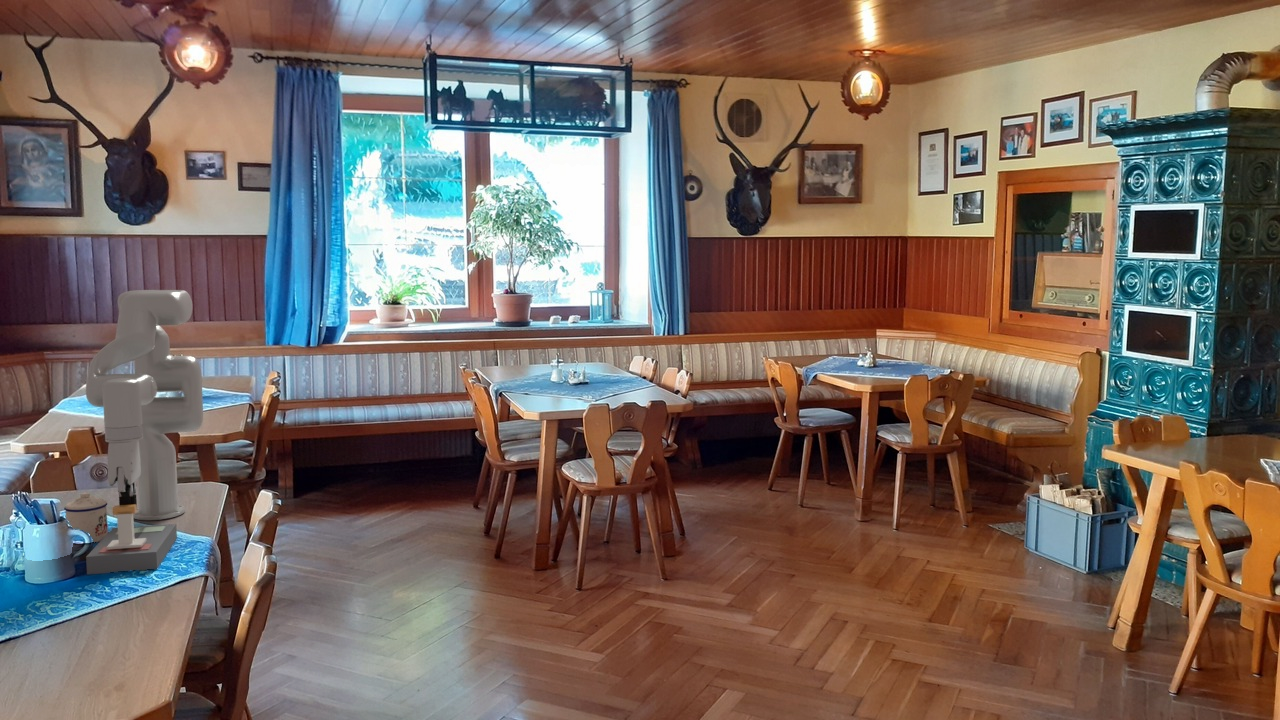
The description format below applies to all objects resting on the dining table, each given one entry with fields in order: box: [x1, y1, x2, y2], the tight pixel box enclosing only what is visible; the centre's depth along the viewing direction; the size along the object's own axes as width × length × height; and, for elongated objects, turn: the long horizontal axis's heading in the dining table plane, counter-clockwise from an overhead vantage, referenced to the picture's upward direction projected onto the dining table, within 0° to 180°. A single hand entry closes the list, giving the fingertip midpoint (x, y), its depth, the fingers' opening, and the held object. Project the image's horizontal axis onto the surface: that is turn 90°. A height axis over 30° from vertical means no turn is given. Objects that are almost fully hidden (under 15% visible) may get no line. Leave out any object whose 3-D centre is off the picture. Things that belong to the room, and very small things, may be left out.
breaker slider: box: [107, 503, 147, 550], centre depth 213 cm, size 5×7×9 cm
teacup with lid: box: [64, 491, 109, 544], centre depth 233 cm, size 12×9×12 cm
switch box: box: [85, 523, 178, 575], centre depth 220 cm, size 22×14×4 cm, turn 15°
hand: (128, 512), depth 216 cm, fingers closed
